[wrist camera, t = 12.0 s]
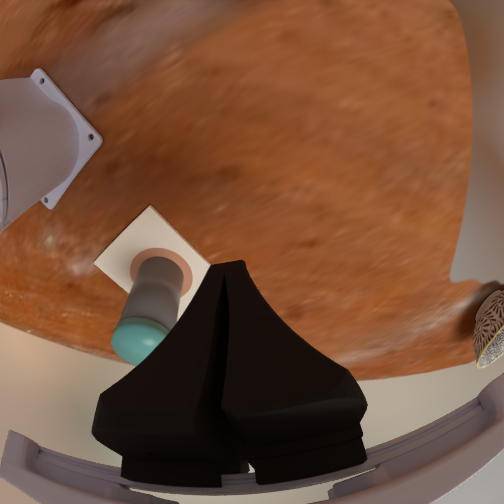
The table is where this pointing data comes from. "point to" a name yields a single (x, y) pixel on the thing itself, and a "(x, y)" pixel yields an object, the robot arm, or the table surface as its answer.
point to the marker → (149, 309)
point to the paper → (152, 254)
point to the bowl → (489, 330)
